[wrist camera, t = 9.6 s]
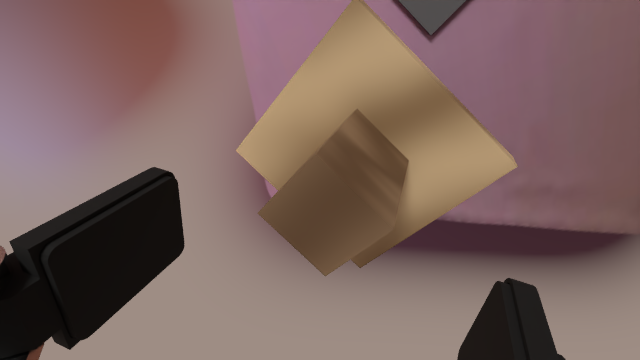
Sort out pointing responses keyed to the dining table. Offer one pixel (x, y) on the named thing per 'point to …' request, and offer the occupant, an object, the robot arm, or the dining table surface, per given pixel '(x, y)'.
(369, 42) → the oak lid
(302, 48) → the dining table surface
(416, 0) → the dark gray mat
